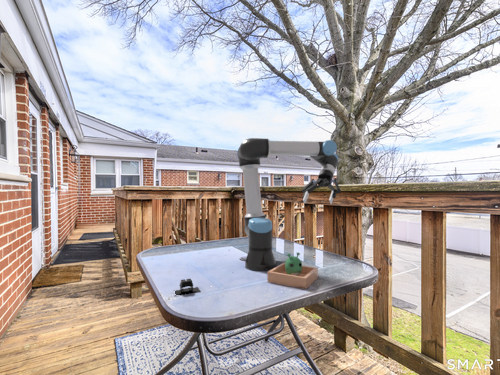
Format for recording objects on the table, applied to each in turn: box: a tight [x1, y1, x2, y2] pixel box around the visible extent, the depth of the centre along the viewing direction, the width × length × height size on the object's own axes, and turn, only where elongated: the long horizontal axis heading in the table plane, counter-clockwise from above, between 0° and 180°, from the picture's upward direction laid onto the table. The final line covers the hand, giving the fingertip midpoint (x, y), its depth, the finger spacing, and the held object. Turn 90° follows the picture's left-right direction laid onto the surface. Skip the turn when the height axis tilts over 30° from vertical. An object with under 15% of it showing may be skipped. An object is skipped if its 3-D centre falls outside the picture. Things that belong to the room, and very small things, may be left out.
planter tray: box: [266, 262, 319, 290], centre depth 104 cm, size 16×16×4 cm
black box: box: [174, 278, 201, 296], centre depth 91 cm, size 12×7×5 cm, turn 115°
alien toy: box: [284, 252, 303, 276], centre depth 104 cm, size 7×8×10 cm
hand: (316, 202), depth 126 cm, fingers open, 13 cm apart
